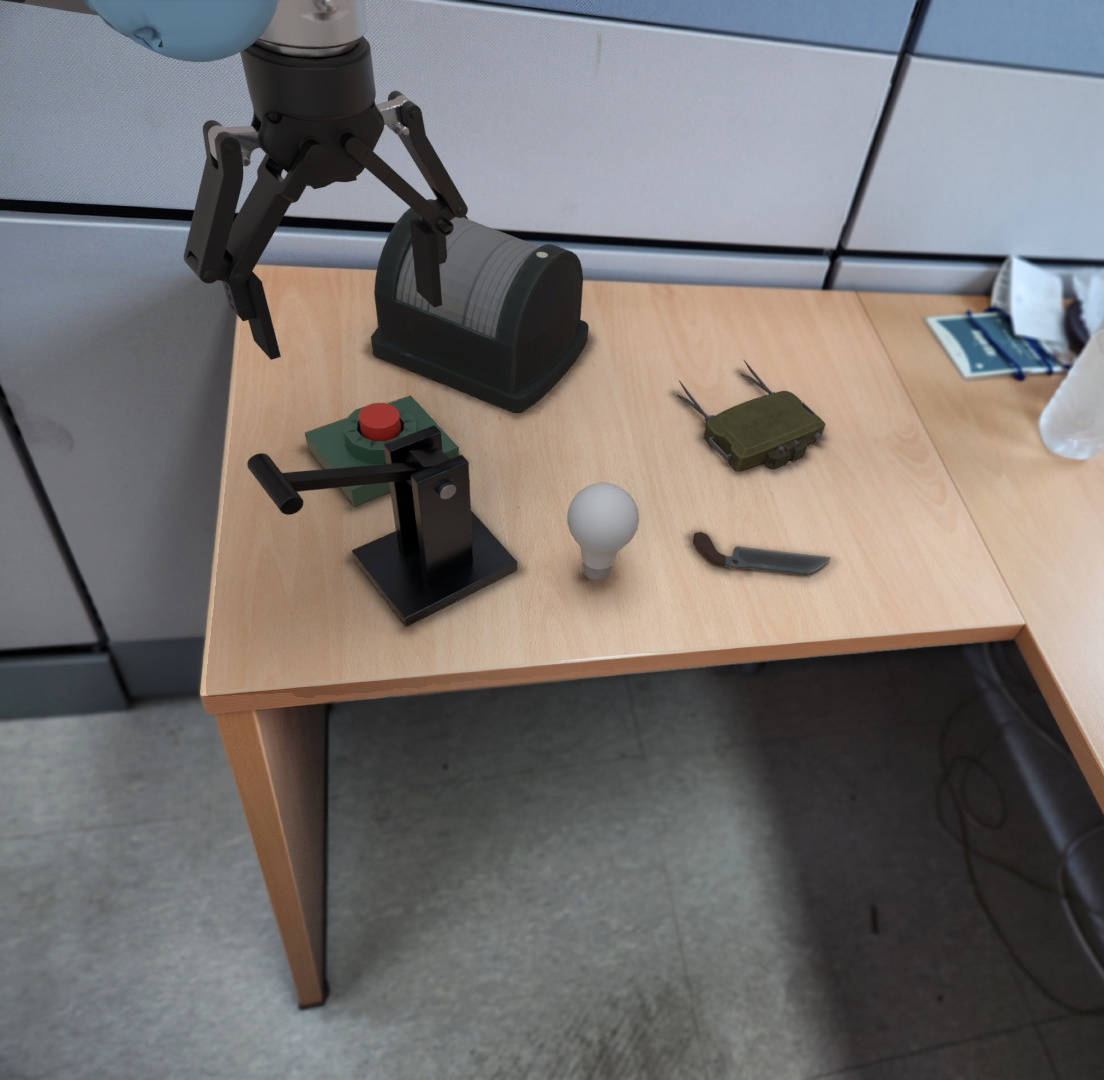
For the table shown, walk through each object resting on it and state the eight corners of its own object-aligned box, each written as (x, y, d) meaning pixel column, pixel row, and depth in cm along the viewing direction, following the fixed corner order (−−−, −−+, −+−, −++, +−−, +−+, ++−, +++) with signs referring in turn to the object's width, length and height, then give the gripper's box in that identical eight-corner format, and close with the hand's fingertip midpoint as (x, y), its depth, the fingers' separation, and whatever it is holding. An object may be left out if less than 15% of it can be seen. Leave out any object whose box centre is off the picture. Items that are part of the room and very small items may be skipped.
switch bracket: (406, 627, 71) (390, 517, 61) (353, 558, 75) (329, 444, 65) (517, 569, 78) (519, 461, 67) (463, 509, 81) (457, 397, 71)
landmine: (746, 466, 89) (664, 381, 95) (741, 484, 91) (661, 400, 97) (841, 426, 96) (759, 351, 102) (834, 444, 98) (754, 368, 104)
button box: (354, 506, 79) (348, 476, 76) (308, 449, 82) (300, 418, 79) (459, 463, 85) (458, 433, 82) (412, 411, 88) (409, 381, 85)
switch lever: (277, 521, 57) (284, 493, 56) (243, 476, 59) (249, 448, 58) (455, 498, 68) (464, 474, 67) (422, 461, 70) (430, 437, 69)
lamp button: (372, 446, 79) (370, 432, 78) (353, 424, 81) (351, 410, 79) (408, 433, 81) (406, 419, 80) (389, 411, 83) (387, 397, 81)
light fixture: (529, 304, 80) (344, 232, 82) (526, 417, 91) (362, 351, 93) (606, 230, 92) (442, 168, 94) (595, 339, 102) (448, 281, 104)
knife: (692, 565, 82) (693, 560, 81) (692, 534, 84) (693, 529, 84) (832, 581, 84) (834, 576, 83) (828, 550, 86) (830, 546, 86)
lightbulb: (620, 608, 77) (633, 528, 69) (554, 592, 77) (560, 510, 69) (635, 559, 81) (649, 477, 73) (572, 543, 81) (580, 460, 73)
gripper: (102, 86, 44) (211, 402, 59) (511, 34, 57) (512, 302, 73) (47, 29, 47) (165, 345, 62) (449, -8, 60) (463, 258, 76)
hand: (352, 322), depth 68 cm, fingers open, 13 cm apart
